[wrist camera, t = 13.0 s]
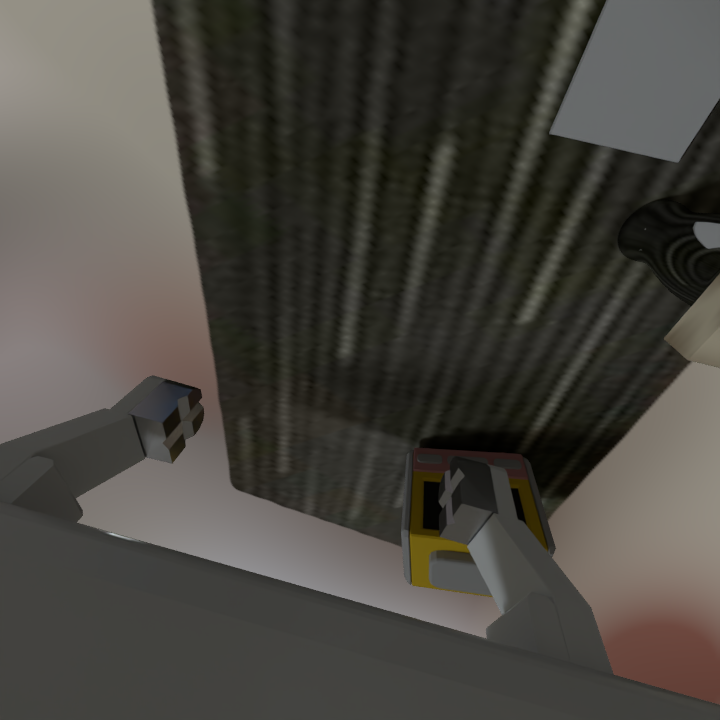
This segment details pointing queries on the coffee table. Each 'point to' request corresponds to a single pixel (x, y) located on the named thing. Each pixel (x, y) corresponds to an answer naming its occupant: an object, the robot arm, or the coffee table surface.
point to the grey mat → (645, 77)
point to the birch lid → (700, 329)
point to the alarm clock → (422, 508)
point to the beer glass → (674, 246)
